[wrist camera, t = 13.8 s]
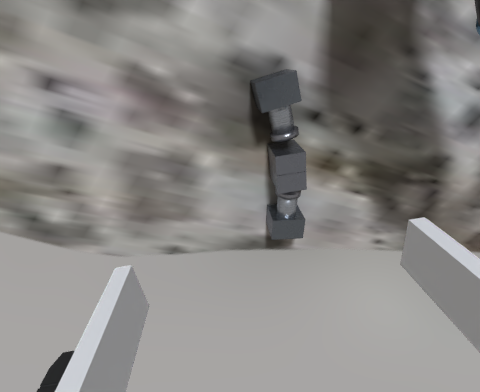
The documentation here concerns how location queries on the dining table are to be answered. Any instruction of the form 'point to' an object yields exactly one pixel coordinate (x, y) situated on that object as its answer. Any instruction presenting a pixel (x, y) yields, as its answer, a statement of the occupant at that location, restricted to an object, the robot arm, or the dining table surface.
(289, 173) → the block
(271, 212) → the shaft
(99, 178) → the dining table surface
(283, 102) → the shaft
